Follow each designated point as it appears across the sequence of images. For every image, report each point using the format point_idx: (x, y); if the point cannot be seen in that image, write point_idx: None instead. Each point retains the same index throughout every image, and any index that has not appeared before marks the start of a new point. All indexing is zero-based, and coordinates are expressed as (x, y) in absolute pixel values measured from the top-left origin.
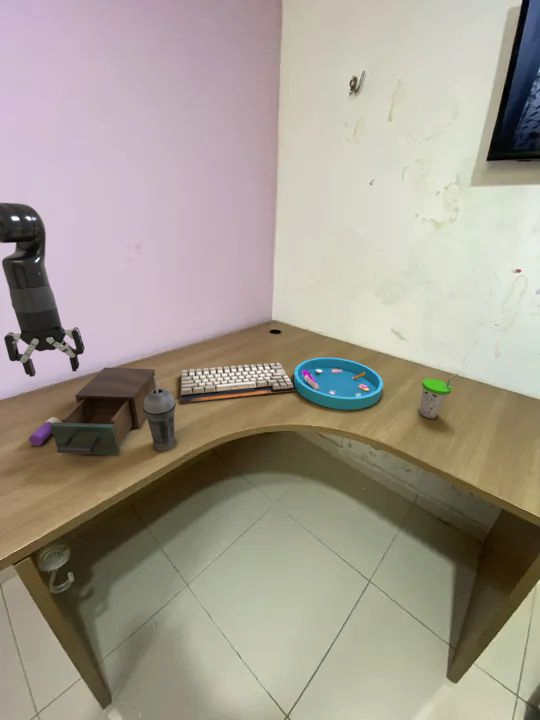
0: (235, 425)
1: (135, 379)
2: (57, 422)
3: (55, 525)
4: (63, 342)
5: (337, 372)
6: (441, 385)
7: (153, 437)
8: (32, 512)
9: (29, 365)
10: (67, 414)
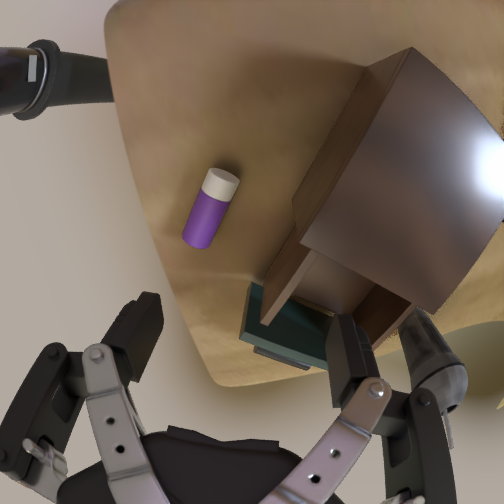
0: (494, 310)
1: (477, 217)
2: (233, 192)
3: (255, 382)
4: (336, 463)
5: None
6: None
7: (402, 345)
8: (228, 363)
9: (142, 370)
10: (273, 308)
